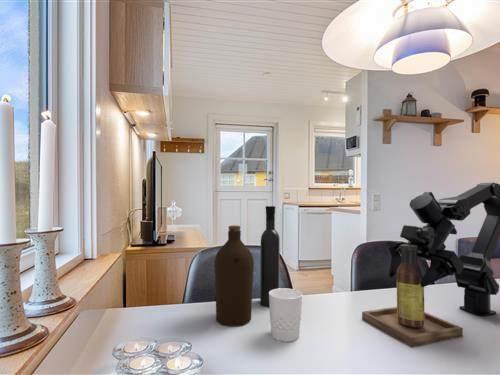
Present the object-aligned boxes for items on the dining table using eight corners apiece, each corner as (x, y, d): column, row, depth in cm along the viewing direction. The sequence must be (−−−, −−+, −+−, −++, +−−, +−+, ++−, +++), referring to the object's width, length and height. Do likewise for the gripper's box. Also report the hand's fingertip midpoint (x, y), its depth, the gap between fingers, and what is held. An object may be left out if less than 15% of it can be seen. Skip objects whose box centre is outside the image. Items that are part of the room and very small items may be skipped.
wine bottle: (259, 306, 91) (260, 206, 92) (261, 299, 97) (262, 205, 98) (278, 307, 90) (279, 206, 91) (279, 300, 96) (279, 206, 97)
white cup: (301, 345, 68) (301, 299, 68) (266, 341, 69) (266, 297, 69) (302, 329, 75) (302, 289, 76) (270, 326, 77) (271, 287, 77)
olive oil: (261, 320, 81) (262, 226, 81) (229, 331, 74) (230, 229, 75) (237, 308, 89) (237, 223, 90) (206, 318, 82) (207, 225, 83)
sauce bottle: (429, 329, 74) (429, 247, 75) (403, 328, 74) (404, 246, 75) (415, 319, 80) (416, 243, 81) (392, 318, 81) (392, 243, 82)
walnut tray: (407, 312, 87) (407, 305, 87) (462, 336, 72) (462, 328, 72) (362, 319, 82) (362, 311, 82) (411, 347, 67) (411, 337, 67)
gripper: (389, 212, 88) (360, 253, 83) (455, 216, 71) (423, 268, 66) (409, 238, 91) (382, 279, 86) (476, 248, 74) (447, 300, 69)
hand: (405, 281), depth 77 cm, fingers open, 9 cm apart
